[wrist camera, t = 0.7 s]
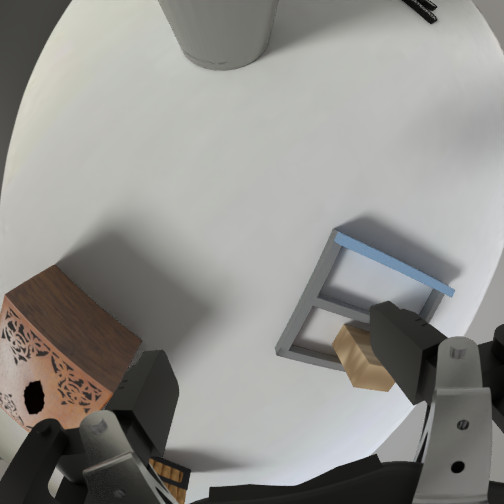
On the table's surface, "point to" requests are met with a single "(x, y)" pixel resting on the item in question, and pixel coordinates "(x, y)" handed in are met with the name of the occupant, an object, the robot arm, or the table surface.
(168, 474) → the ammunition clip
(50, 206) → the table surface
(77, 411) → the tissue box cover
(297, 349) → the organizer
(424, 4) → the nameplate
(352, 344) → the plug block
